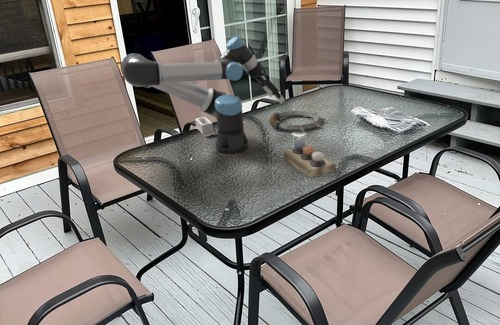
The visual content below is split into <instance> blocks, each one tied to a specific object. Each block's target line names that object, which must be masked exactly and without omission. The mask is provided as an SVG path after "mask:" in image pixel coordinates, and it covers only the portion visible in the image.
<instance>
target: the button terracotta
mask: <svg viewBox="0 0 500 325" xmlns="http://www.w3.org/2000/svg"><path fill="white" fill-rule="evenodd" d="M314 150H315V147H314V146H312V145H305V146H304V147H303V153H304V154H308V155H309V154H312V153H314Z"/></svg>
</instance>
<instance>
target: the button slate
mask: <svg viewBox="0 0 500 325" xmlns="http://www.w3.org/2000/svg"><path fill="white" fill-rule="evenodd" d="M305 141H306V140H302V139H298V140H295V141H293V142H294V148H303V147H304V146H306V142H305Z"/></svg>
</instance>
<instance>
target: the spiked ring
mask: <svg viewBox="0 0 500 325" xmlns="http://www.w3.org/2000/svg"><path fill="white" fill-rule="evenodd" d="M318 115H319V114H318V113H317V112H309V111H304V110H288V111H282V112H276V111H275V112H274V113H273V114H272V115H271V116H270V118H269V120H268V122H269V125H270V126H272V128H274V130H275V131H279V129H280V130H282V131H287V132H305V131H308V130H307V129H310V130H312V129H311V128H313V129H315V128H314V127H319V128H323V126H322V125H321V124H322V122H321V121H323V122H325V121H324V120H326V121H328V119H325V118H322V117H320V116H318ZM290 116H296V117H298V116H306V117H305V118H307V117H311V118H310V119H312V118H313V119H312V120H314V119H315V120H314V121H313V122H310V123H305V124H287V123H286V124H285V123H282V122H281V119H283V118H291V117H290ZM277 120H279V121H277Z"/></svg>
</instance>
